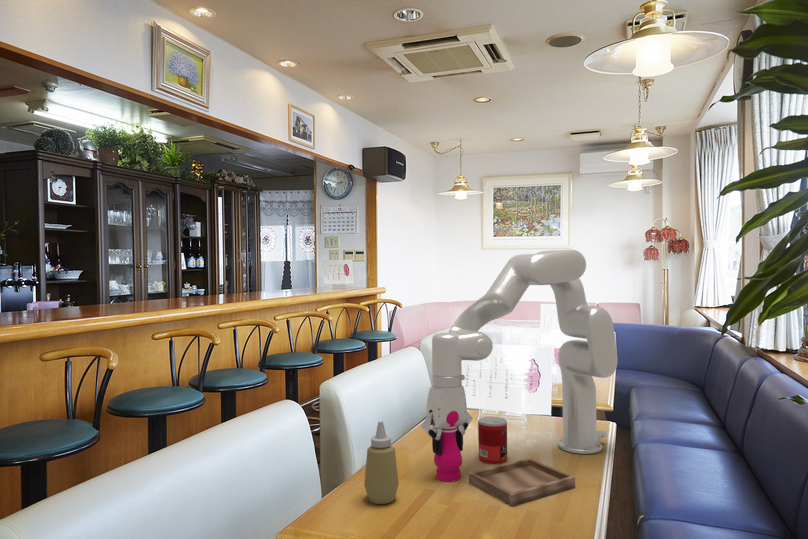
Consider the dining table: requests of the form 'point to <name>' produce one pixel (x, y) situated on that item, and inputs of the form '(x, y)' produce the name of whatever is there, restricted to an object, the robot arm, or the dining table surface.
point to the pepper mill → (449, 452)
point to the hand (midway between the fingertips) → (447, 451)
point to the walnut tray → (521, 481)
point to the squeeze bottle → (381, 468)
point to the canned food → (492, 439)
